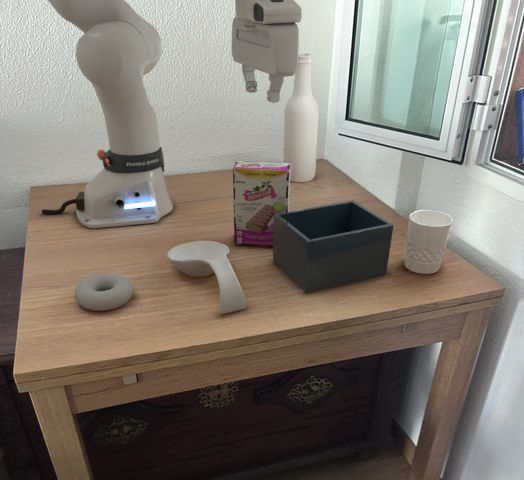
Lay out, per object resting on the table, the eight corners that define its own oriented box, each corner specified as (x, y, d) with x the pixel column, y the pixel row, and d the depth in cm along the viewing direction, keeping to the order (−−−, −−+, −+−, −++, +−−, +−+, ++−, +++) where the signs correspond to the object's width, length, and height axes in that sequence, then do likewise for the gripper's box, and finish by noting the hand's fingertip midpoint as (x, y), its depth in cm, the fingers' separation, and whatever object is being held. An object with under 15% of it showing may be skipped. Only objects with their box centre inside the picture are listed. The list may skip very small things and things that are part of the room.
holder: (305, 293, 98) (308, 242, 92) (272, 262, 108) (273, 214, 102) (386, 274, 104) (393, 224, 98) (348, 246, 114) (353, 200, 108)
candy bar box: (233, 246, 113) (231, 167, 104) (237, 236, 117) (235, 159, 108) (287, 249, 113) (289, 169, 103) (288, 238, 117) (291, 161, 107)
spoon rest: (161, 263, 107) (157, 228, 103) (216, 251, 111) (214, 218, 107) (203, 321, 90) (200, 283, 86) (266, 305, 94) (267, 268, 90)
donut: (137, 285, 100) (81, 286, 99) (134, 268, 98) (78, 269, 97) (131, 314, 92) (70, 315, 91) (128, 296, 90) (66, 298, 89)
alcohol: (278, 174, 151) (280, 53, 134) (306, 171, 154) (312, 51, 136) (291, 184, 145) (295, 58, 127) (320, 180, 147) (328, 56, 130)
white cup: (393, 261, 108) (400, 213, 102) (425, 254, 110) (434, 207, 105) (417, 279, 102) (426, 229, 96) (451, 271, 105) (462, 222, 99)
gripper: (221, 3, 97) (224, 88, 105) (270, 11, 82) (269, 109, 90) (253, 2, 99) (254, 85, 107) (307, 10, 84) (303, 106, 92)
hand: (261, 96), depth 98 cm, fingers open, 8 cm apart
